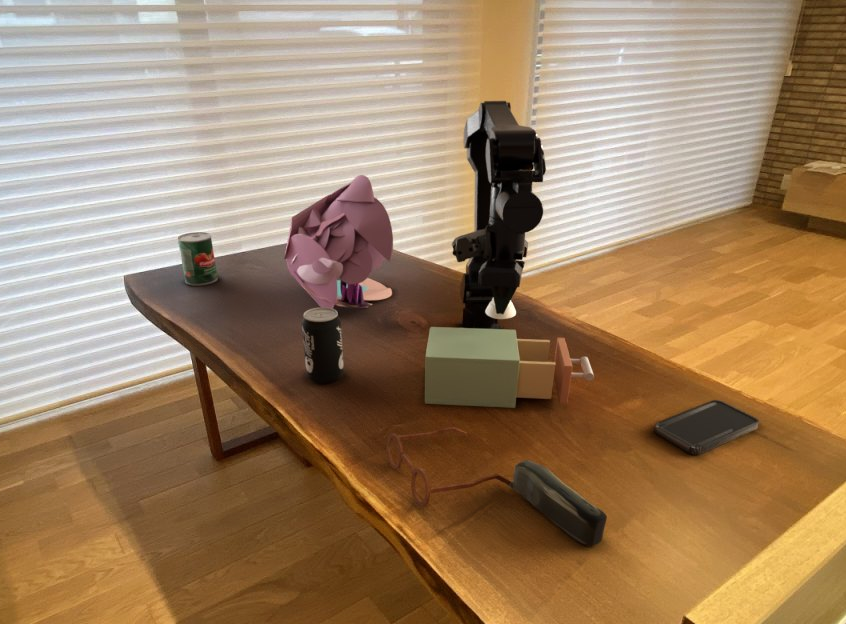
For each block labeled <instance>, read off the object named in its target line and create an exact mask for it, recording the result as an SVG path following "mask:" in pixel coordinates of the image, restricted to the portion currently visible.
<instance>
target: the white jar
mask: <svg viewBox="0 0 846 624" xmlns="http://www.w3.org/2000/svg"><path fill="white" fill-rule="evenodd" d="M485 312H486V314H487V315H488V316H490V317H492V318H495V319H498V320H509V319H511V318H513V317H515V316H516V315H517V310H516V307H515V305H514V304H513V302H512V299H511V300H510V302H509V304H508V306H507V308H506V310H505V312H504V314H497V313H496V308H495V303H494V297H493V298H492V301H491V302H490V303H489V305H488V307H487V308H486V310H485Z"/></svg>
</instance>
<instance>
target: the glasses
mask: <svg viewBox="0 0 846 624" xmlns="http://www.w3.org/2000/svg"><path fill="white" fill-rule="evenodd" d="M450 432H452V433H455V434H457V435H459V436H463V437H466V436H467V435H468V432H467V431H464V430H462V429H460V428H457V427H454V426H449V427H443V428H439V429H437V430H433V431H429V432H420V433H419V432H418V433H410V434H400V435H398V434H397V433H390V434H389V435H388V437H387V440H386V456H387V457H386V458H387V460H388V462H389V464H390V466H391V468H392V469H395V470H399V469H400V468H401V467H402V464H403V462H404V464H406V466H407V467H408V469H409V470H410V473H411V477H410V478H411V479H410V488H411V489H410V490H411V493H412V497H413V499H414V501H415V503H416V504H417V505H418V506H419V507H425V506H427V505H428V504H429V502H430V498H431V494H436V493H443V492H449V491H456V490H461V489H462V490H463V489H469V488H474V487H476V486H479V485H480V484H482V483H484V482H488V481H491V480H498V481H499V482H500V483H501V482H502V483H503V484H505V485H507V486H508V485H509V484H510V483H511V482H513V480H511V479H509V478H507V477H505V476H503V475H501V474H499V473H493V474H489V475H485V476H482V477H479V478H477V479H475V480H472V481H467V482H461V483H460V482H459V483H453V484H445V485H441V486H440V485H439V486H433V487H431V485H430V484H431V483H430V480H429V477H428V475H427V473H426V471H425V470H424V469H423V468H421V467H415V466H414V464H413V463H412V461H411V460H410V459H409V457H408V456H407V455H406V454H404V448H403V444H402V441H407V440H416V439H426V438H432V437H435V436H438V435H442V434H445V433H450ZM392 442H396V445H397V448H398V459H397V462H396V463H395V461H394V459H393V457H392V451H391V446H392ZM417 474H419V475H420V476H421V477H422V479H423V482H424V486H425V495H424V498H423V500H422V499H421V498H420V497H419V494H418V492H417V488H416V481H417V480H416V479H417V476H418V475H417Z"/></svg>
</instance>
